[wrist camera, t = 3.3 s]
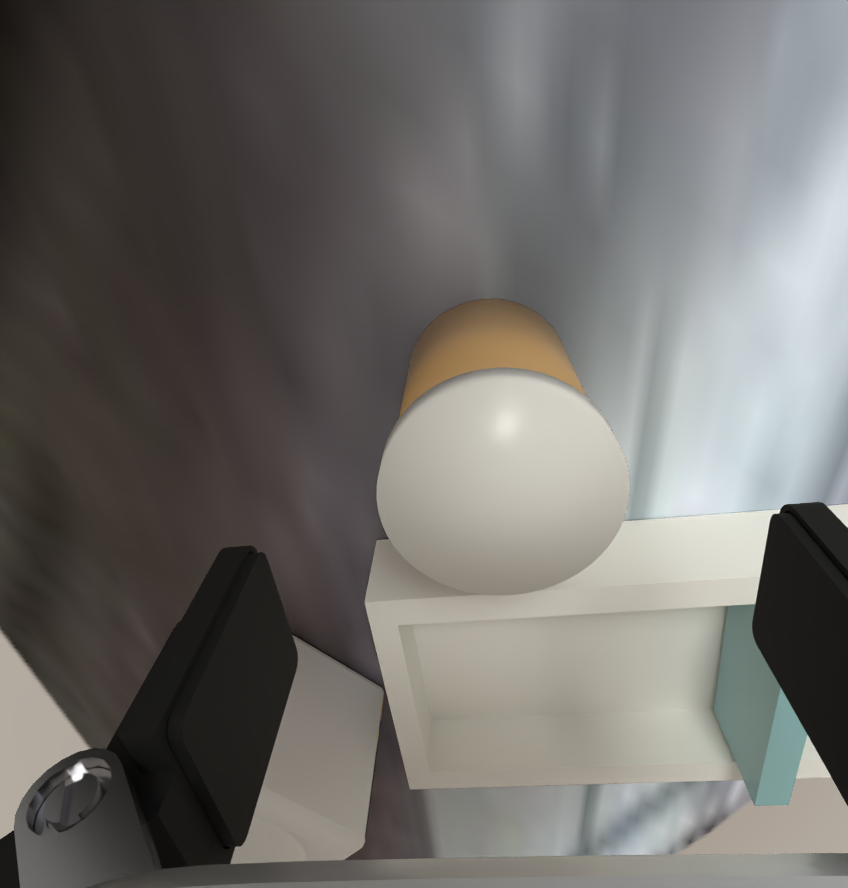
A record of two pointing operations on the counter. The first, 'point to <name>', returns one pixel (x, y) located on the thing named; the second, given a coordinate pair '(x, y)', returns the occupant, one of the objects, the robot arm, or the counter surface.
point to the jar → (499, 457)
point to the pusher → (756, 715)
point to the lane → (573, 662)
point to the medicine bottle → (318, 767)
